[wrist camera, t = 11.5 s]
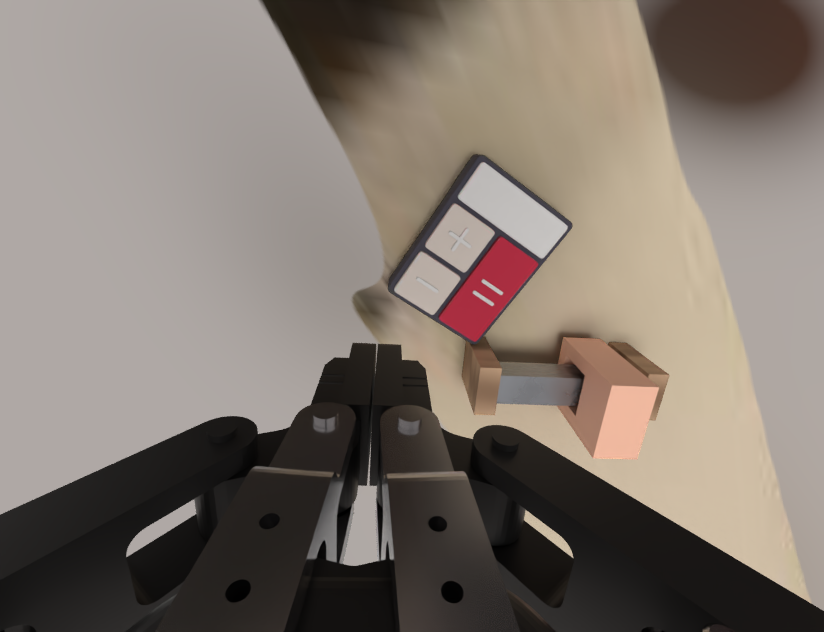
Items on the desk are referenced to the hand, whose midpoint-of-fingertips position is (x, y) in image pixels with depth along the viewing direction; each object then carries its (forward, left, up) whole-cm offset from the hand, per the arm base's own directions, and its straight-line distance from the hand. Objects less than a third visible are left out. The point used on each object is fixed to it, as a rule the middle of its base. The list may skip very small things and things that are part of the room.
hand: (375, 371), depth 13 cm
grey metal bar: (+13, +18, -25) cm, 34 cm away
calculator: (+1, +9, -30) cm, 31 cm away
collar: (+13, +21, -27) cm, 37 cm away
